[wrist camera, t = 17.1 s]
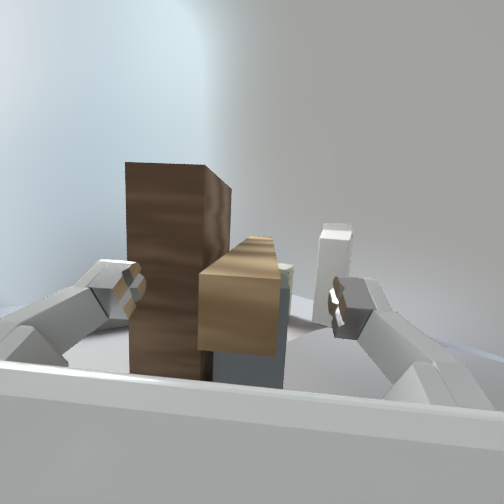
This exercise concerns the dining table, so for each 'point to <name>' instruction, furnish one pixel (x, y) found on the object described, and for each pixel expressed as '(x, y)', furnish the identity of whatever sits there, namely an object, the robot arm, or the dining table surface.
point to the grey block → (257, 356)
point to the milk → (331, 266)
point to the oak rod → (241, 300)
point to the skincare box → (289, 272)
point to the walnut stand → (173, 262)
